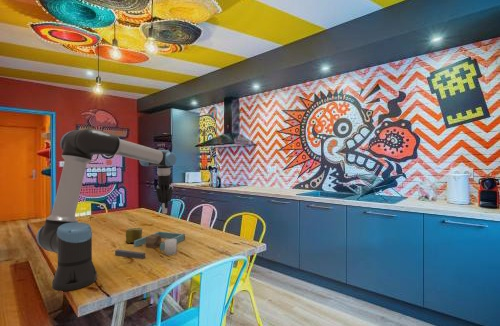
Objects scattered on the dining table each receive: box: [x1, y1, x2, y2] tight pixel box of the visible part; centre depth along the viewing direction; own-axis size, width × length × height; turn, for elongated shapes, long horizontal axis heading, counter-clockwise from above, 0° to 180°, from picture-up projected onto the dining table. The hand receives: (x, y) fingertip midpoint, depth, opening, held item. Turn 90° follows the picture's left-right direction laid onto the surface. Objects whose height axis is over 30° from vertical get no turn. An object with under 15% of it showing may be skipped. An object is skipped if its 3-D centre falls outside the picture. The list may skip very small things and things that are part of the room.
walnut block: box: [145, 233, 162, 249], centre depth 155 cm, size 6×6×6 cm
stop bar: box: [114, 249, 146, 260], centre depth 139 cm, size 2×18×2 cm, turn 70°
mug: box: [125, 227, 143, 244], centre depth 166 cm, size 12×10×10 cm
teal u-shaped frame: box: [133, 231, 186, 251], centre depth 161 cm, size 22×19×4 cm
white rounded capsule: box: [164, 238, 178, 256], centre depth 143 cm, size 6×6×7 cm
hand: (164, 213), depth 166 cm, fingers closed
